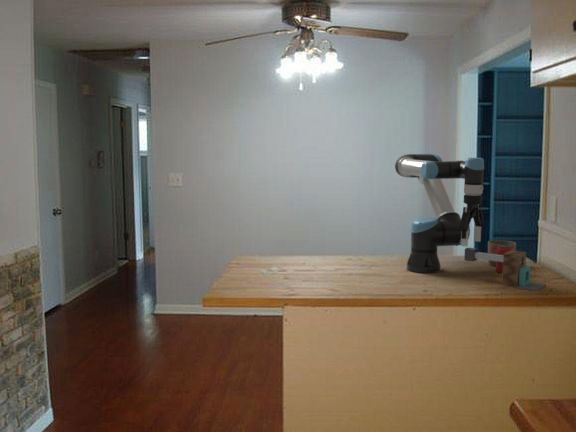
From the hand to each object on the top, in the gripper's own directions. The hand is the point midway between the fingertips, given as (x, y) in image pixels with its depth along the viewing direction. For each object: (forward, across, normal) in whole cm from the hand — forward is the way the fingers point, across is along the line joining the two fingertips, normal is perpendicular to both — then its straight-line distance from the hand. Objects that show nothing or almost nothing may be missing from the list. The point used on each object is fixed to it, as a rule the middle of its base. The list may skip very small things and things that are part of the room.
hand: (470, 243), depth 252 cm
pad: (+14, 0, -26) cm, 30 cm away
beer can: (+15, +18, -8) cm, 25 cm away
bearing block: (+14, 0, -19) cm, 24 cm away
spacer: (+14, 0, -23) cm, 27 cm away
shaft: (+7, 0, -10) cm, 12 cm away
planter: (+15, +32, -2) cm, 35 cm away
